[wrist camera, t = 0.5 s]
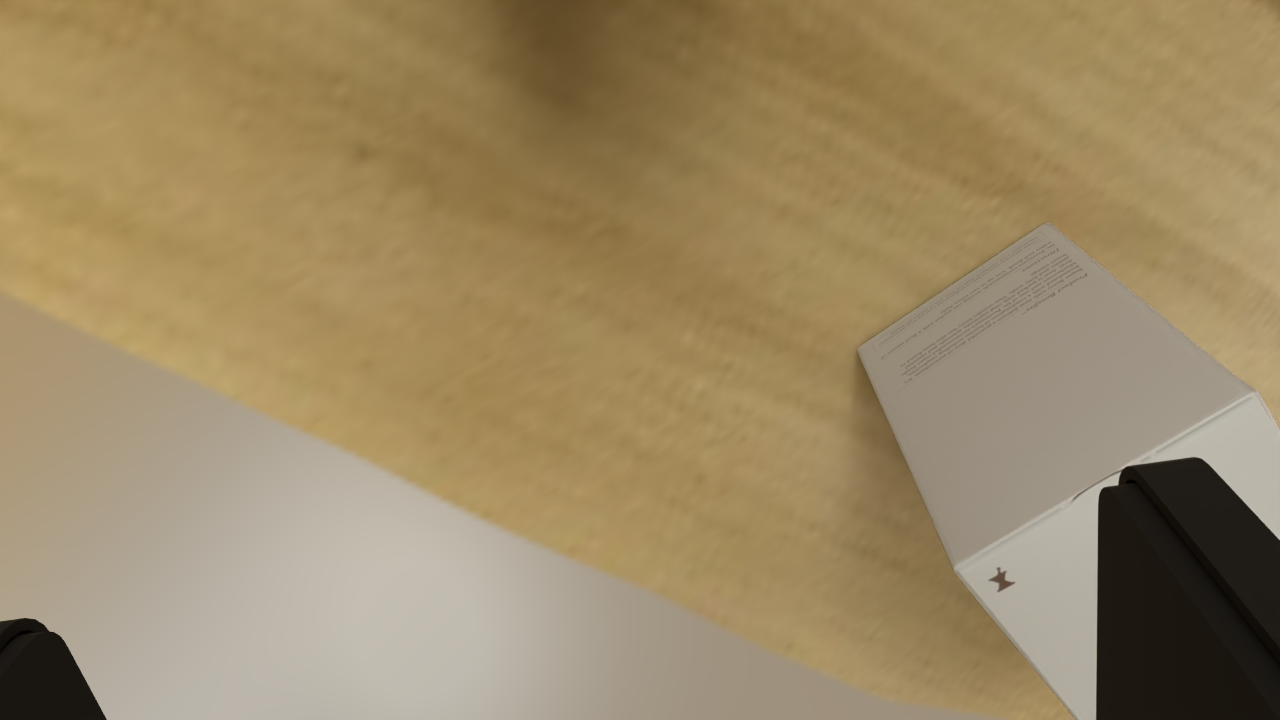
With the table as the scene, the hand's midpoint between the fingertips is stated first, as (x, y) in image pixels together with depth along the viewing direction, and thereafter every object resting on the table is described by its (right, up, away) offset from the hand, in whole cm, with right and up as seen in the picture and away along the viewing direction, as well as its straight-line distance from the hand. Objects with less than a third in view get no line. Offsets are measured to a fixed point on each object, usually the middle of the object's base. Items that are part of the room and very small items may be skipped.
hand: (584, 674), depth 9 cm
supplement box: (+15, +3, +32) cm, 36 cm away
